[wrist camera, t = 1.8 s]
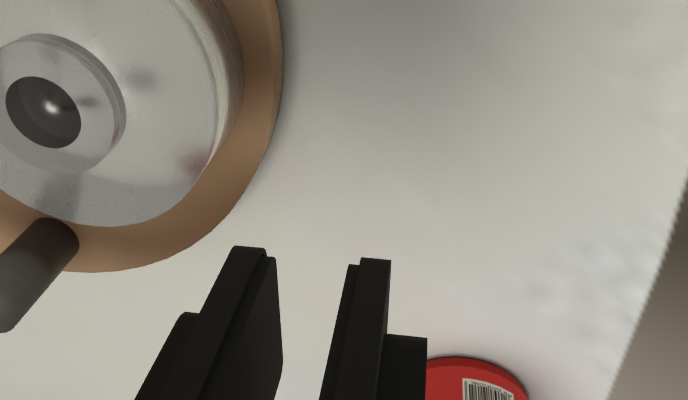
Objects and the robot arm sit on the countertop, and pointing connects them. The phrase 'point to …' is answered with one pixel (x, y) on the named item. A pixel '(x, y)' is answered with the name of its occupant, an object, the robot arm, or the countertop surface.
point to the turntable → (171, 226)
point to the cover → (113, 103)
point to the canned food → (469, 381)
